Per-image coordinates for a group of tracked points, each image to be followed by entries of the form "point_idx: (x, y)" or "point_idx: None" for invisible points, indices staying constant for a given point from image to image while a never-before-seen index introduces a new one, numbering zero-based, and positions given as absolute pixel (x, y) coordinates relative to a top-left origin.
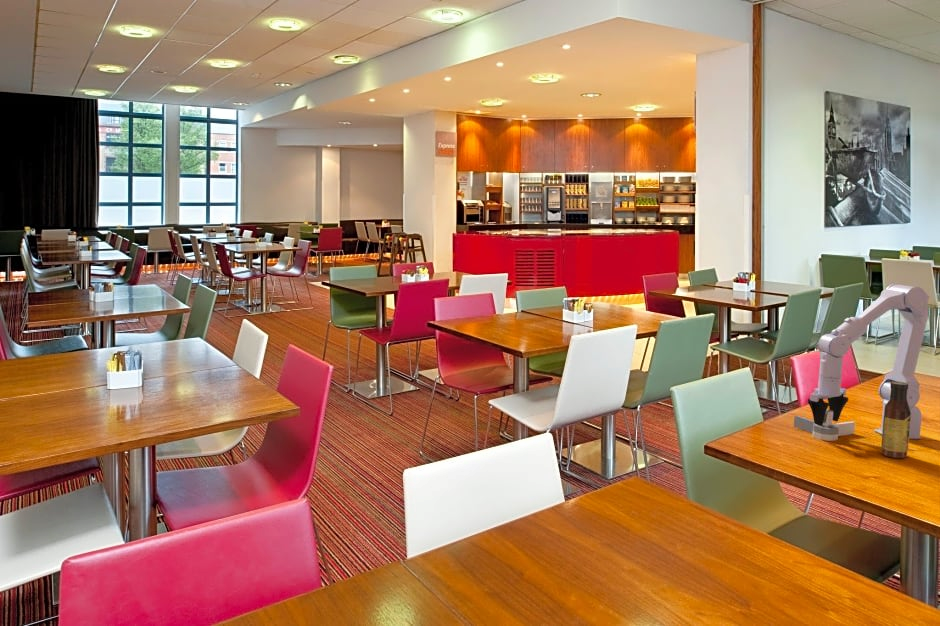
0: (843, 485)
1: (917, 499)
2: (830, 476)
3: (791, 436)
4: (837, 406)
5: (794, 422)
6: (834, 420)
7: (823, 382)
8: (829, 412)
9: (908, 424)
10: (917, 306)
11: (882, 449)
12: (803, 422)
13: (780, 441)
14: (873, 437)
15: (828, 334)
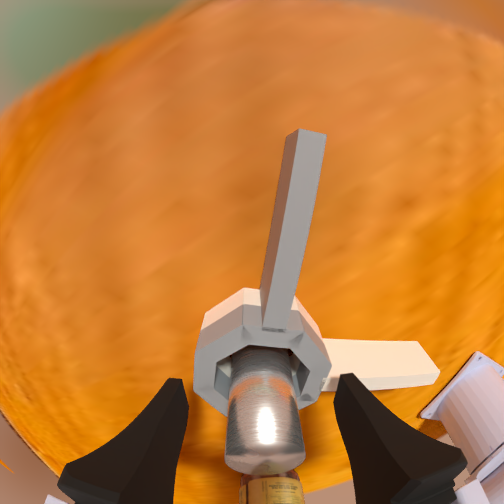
0: (41, 447)
1: None
2: (38, 433)
3: (114, 251)
4: (359, 472)
5: (289, 138)
6: (336, 395)
7: None
8: (241, 469)
9: None
10: None
11: (247, 480)
12: (279, 218)
13: (35, 271)
14: (409, 393)
15: None
